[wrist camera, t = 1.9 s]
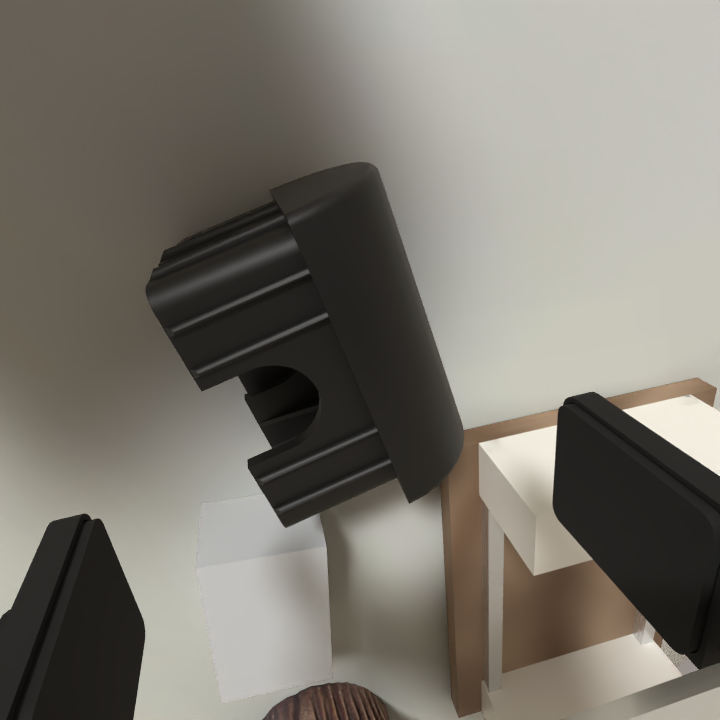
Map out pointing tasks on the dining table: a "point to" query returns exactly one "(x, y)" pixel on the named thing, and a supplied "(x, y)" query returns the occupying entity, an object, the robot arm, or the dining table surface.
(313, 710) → the cupcake
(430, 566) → the dining table surface
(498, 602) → the rail
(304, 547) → the block
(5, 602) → the dining table surface
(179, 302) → the end cap
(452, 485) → the rail board
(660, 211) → the dining table surface
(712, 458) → the mounted modules
